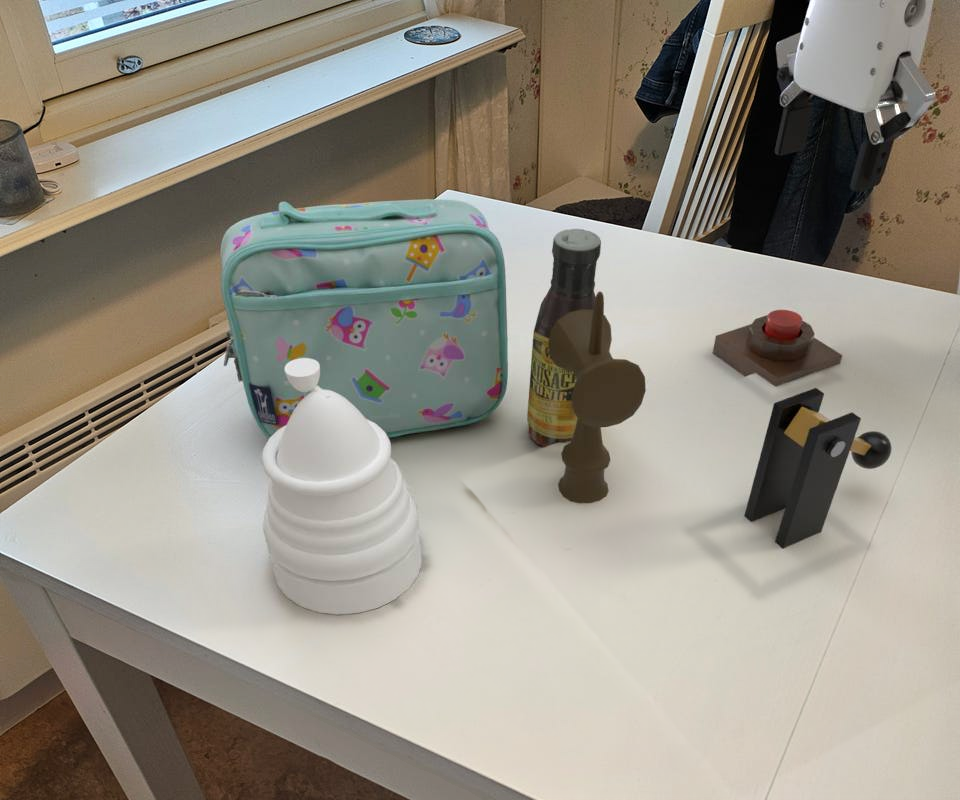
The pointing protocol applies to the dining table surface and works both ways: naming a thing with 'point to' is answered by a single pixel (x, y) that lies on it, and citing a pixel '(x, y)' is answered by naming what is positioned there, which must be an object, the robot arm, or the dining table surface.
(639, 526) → the dining table surface
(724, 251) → the dining table surface
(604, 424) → the kendama
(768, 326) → the light button
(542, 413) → the sauce bottle
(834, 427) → the switch bracket
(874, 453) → the switch lever
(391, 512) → the honey pot
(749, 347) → the button block
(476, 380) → the lunch box
